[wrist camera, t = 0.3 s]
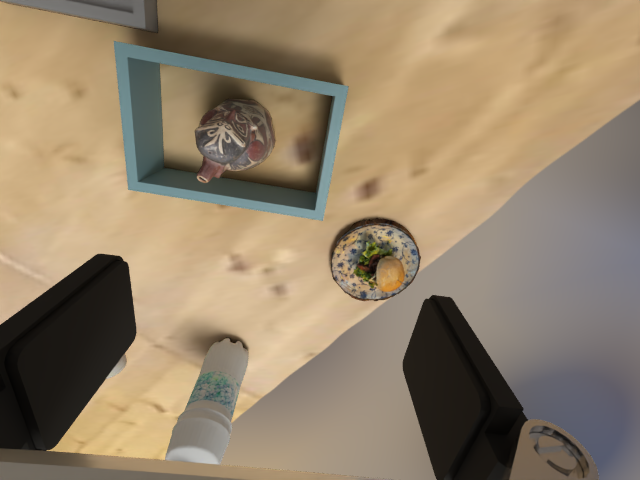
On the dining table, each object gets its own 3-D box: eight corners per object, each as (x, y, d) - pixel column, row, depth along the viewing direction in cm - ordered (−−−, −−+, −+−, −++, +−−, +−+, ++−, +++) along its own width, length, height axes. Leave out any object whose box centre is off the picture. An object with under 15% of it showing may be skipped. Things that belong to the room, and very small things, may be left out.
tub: (148, 48, 32) (113, 41, 26) (343, 86, 33) (348, 86, 28) (156, 174, 37) (128, 189, 32) (322, 201, 39) (322, 220, 33)
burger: (339, 210, 40) (343, 236, 33) (429, 225, 41) (451, 253, 34) (322, 288, 45) (323, 324, 38) (402, 300, 46) (416, 336, 39)
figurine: (288, 125, 35) (274, 143, 24) (255, 176, 37) (229, 213, 27) (231, 83, 33) (188, 82, 22) (201, 140, 36) (149, 164, 25)
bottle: (213, 365, 51) (155, 517, 33) (205, 333, 48) (136, 481, 30) (254, 364, 51) (219, 515, 33) (248, 332, 48) (206, 479, 30)
